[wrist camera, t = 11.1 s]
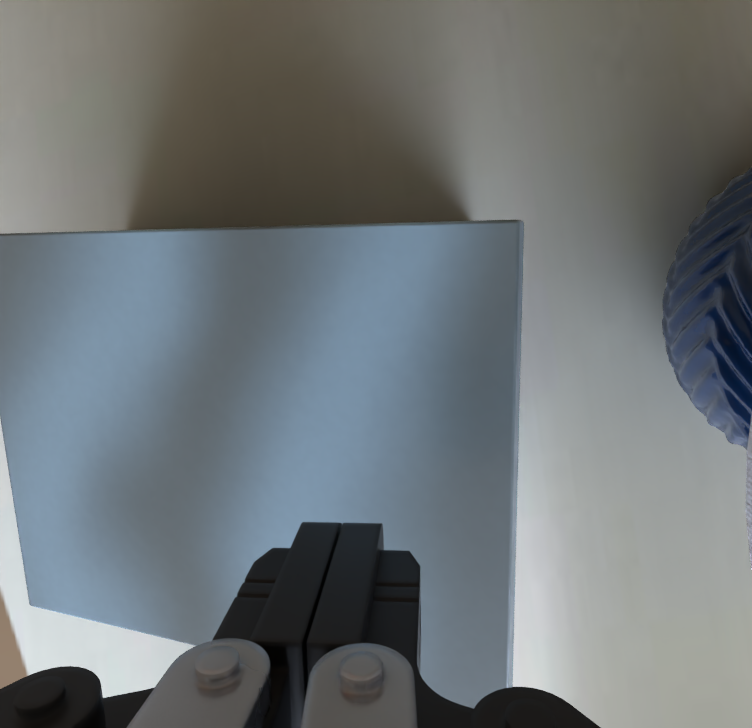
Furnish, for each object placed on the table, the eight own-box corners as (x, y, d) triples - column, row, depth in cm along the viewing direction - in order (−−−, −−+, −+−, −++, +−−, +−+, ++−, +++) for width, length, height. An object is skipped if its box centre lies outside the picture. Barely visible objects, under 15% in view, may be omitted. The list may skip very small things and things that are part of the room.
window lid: (524, 219, 14) (519, 219, 13) (512, 701, 17) (507, 722, 16) (-6, 233, 20) (-30, 234, 19) (47, 593, 22) (28, 606, 22)
